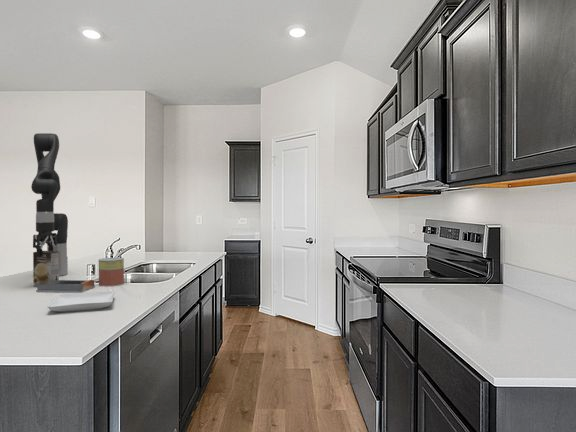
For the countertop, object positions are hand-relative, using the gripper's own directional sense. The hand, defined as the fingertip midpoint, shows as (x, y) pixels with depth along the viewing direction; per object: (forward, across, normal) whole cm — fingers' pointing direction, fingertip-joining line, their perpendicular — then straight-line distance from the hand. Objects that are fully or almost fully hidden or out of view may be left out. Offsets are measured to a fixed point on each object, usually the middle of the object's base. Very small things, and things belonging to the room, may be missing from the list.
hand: (45, 255), depth 196 cm
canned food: (+14, -6, +29) cm, 33 cm away
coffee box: (+14, 0, 0) cm, 14 cm away
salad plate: (+15, +36, +38) cm, 55 cm away
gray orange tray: (+14, +9, +15) cm, 22 cm away
